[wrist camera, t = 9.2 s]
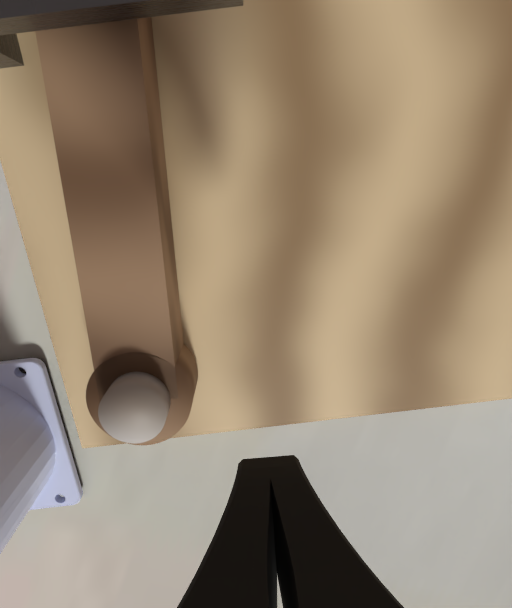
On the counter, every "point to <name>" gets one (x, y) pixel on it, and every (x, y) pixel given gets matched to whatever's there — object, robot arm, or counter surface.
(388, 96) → the oak board
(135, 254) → the link
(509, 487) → the counter surface
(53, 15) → the bar
